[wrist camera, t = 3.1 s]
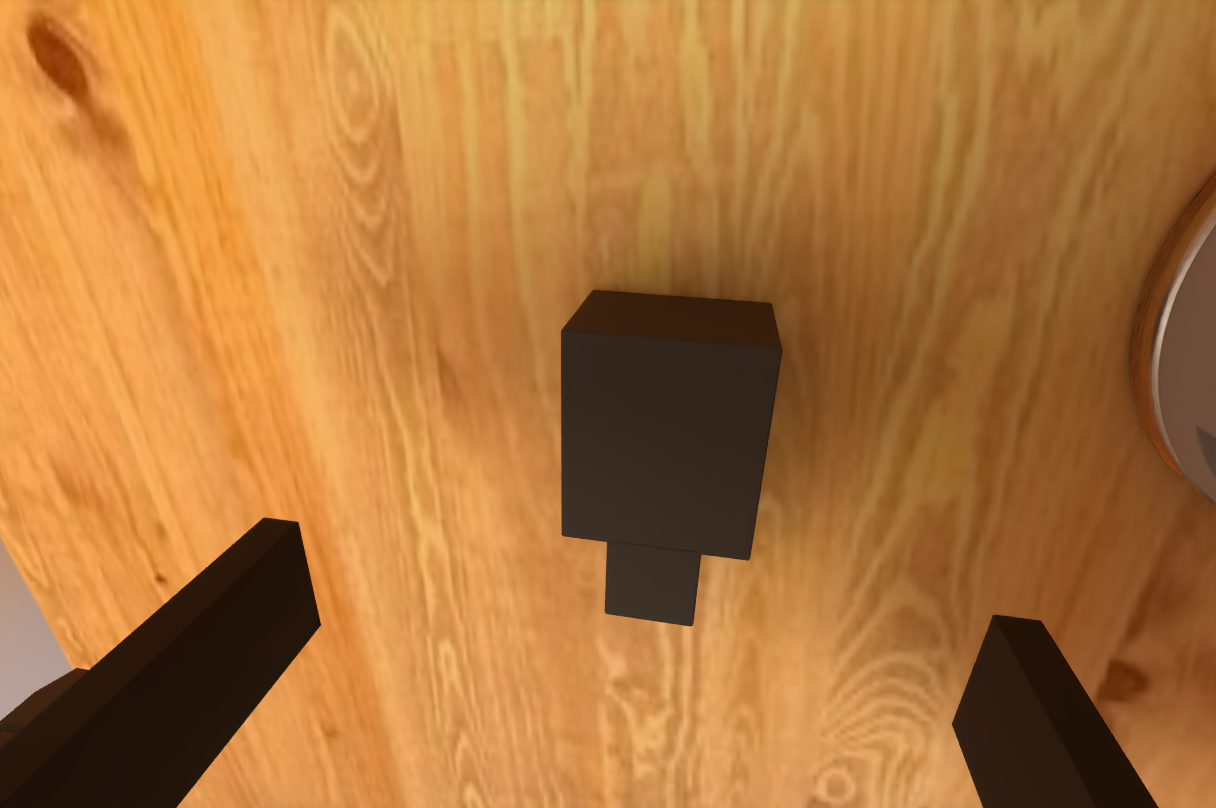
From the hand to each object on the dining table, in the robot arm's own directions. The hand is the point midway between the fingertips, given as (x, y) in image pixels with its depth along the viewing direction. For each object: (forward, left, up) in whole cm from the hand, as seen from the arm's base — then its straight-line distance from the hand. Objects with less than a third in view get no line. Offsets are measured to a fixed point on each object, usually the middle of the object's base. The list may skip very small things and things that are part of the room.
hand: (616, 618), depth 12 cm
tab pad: (+2, 0, -11) cm, 12 cm away
